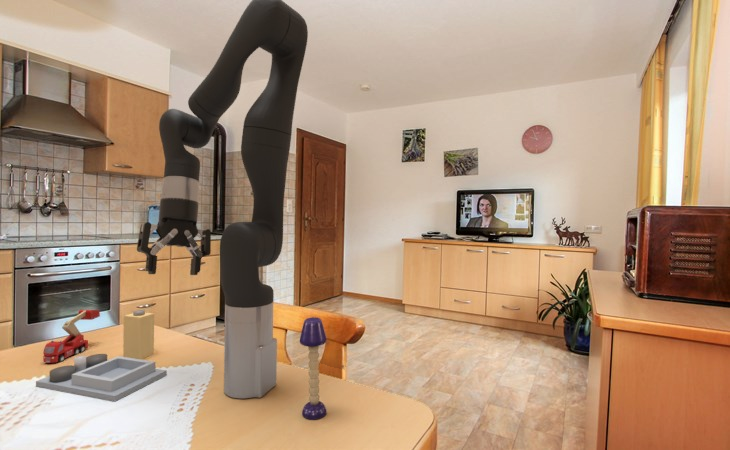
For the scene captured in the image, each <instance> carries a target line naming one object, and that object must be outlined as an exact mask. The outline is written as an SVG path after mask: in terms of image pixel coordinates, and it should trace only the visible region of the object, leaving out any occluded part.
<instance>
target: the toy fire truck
mask: <svg viewBox="0 0 730 450" xmlns="http://www.w3.org/2000/svg"><path fill="white" fill-rule="evenodd" d="M99 317H101V315H100V309H80V310H78V314H77V315H75V316H74V317H73V318H71V319H69V320H65V322H64V324H63V325H62V326H61V329H63V330H64V331H65V332H66V333H67V334H68V336H67V337H66V338H64V339H63V341H62V340H60V341H54V340H51V341H49V342H48V343H46V344H45V346H44V349H43V353H42V354H43V357H42V359H43V360H42V361H43V363H48V364H50V363H51V364H52V363H58V362H59V363H61V362H64V360H65V359H66V358H69V357H71V356H72V355H75V356H76V355H78V354H79V353H83V352H84V351H85V350H87V349H88V348H89V340H88V339H85V337H84V334H81V332H80V330H79V329H78V328H77V326H76V324H75V323H77V322H79V321H80V320H85V321H86V320H95V319H96V318H99Z"/></svg>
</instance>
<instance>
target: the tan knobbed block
mask: <svg viewBox="0 0 730 450" xmlns="http://www.w3.org/2000/svg"><path fill="white" fill-rule="evenodd" d="M122 338H123V344H122V347H123V350H122V352H123V353H122V355H123V356H122V357H127V358H134V359H141V360H144V359H145V358H147V357H150V356H152V355H154V354H155V313H154V312H153V313H152V312H146V310H144V309H139V310H137V309H136V310H134V311H133V312H132V313H128V314H125V315H123V337H122Z"/></svg>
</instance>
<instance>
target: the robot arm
mask: <svg viewBox="0 0 730 450" xmlns="http://www.w3.org/2000/svg"><path fill="white" fill-rule="evenodd" d="M308 35H309V32H308V25H307V23H306V19H305V18H304V17H303V16H302V14H300V12H298V11H297V10H295V9H293V8H292V7H291V6H290V5H289V4H287V3H286V2H284V0H251V1H250V2H249V3H248V5H247V7H246V8H245V9H244V11H243V13H242V14H241V16H240V17H239V20H238V22H237V23H236V26H235V27H234V29H233V30H232V32H231V34H230V36H229V37H228V40H227V41H226V43H225V45H224V47H223V49H222V51H221V53H220V55H219V57H218V58H217V60H216V62H215V64H214V65H213V67H212V68H211V70H210V71H209V73H208V74H207V75H206V77H205V78H204V79H203V80H202V81H201V83H200V84H199V85H198V86H197V88H195V90H194V91H193V93H191V95H190V96H189V97H188V100H187V103H188V105H187V106H188V109H189V110H190V111H191V112H192V113H193V115H192V114H190V113H188V112H185V111H182V110H180V109H177V108H169V109H167V110H166V111H164V112H163V114H161V116H160V118H159V123H158V132H159V137H160V142H161V143H162V144H161V145H162V150H163V157H164V169H163V170H164V171H163V180H162V184H161V190H160V191H161V192H160V194H159V195H160V196H159V197H160V198H159V201H160V202H159V212H158V223H157V224H153V223H151V222H149V221H148V222H144V223H141V224H140V227H139V232H138V233H139V234H138V240H137V245H136V251H137V252H138V253H141V254H143V255H145V256H146V259H145V260H146V261H145V272H147V274H148V275H156V273H157V264H158V256H157V254H158V253H159V251H161V250H162V249H163V248H164V247H165V246H166V247H172V246H173V247H178V248H183V247H185V250H187V251H188V252H189V253H190V255H191V257H192V258H191V259H190V272H189V275H190V276H197V275H198V273H200V271H201V266H202V265H201V263H202V258H203V257H207V256H210V255H211V252H212V251H211V250H212V249H211V245H212V244H211V243H212V241H211V239H212V237H211V235H212V234H211V229H209V228H207V229H206V228H205V229H198V227H197V224H198V216H199V215H198V213H199V201H200V185H199V184H200V170H201V161H200V159H199V157H197V156H196V155H194V154H193V153H191V152H189V151H188V150H187V149H186V147H188V148H192V149H201V148H204V147H205V146H207V145H208V144H209V143H210V140H211V138H212V136H213V133H214V130H215V129H216V127H217V125H218V122H219V120H220V119H221V117H223V115H224V114H225V113H226V112H227V111H228V110H229V108H230V107H231V106H232V105H233V104H234V102H235V101H236V100H237V98H238V96H239V95H240V91H241V85H242V77H243V70H244V67H245V64H246V62H247V60H248V59H249V57H250V56H251V55H253V53H255V51H257V50H258V49H259V48H260V49H262V50H263V51H265V52H267V53H268V54H271V66H270V72H269V78H268V80H267V83H266V86H265V88H264V90H263V91H262V92H261V93H260V95H259V96H258V97H257V99H256V100H255V101H254V102H253V104H252V105H251V106H250V108H249V109H248V111H247V113H246V115H245V116H244V117H245V118H244V120H243V126H242V127H243V128H242V136H241V145H240V155H241V160H242V164H243V167H244V170H245V172H246V175H247V177H248V181H249V184H250V187H251V190H252V196H253V197H252V198H253V208H252V216H251V221H236V222H232V223H230V224H229V225H227V226H226V227H225V229H223V231H222V235H221V237H220V241H219V263H220V265H219V266H220V267H219V268H220V285H221V289H222V292H223V295H224V345H223V346H224V347H223V351H224V353H223V355H224V356H223V392H224V394H225V395H226V396H228V397H230V398H234V399H251V398H262V397H263V396H265V394H267V393H268V392H269V391H270V390H272V389H273V388H274V387H275V386H276V385H277V377H278V376H277V373H278V372H277V371H278V370H277V368H278V367H277V365H278V361H277V359H278V339H277V338H276V337H274V288H273V287H272V286H271V285H268V284H265V283H263V282H261V279H260V276H259V275H260V274H259V273H260V272H259V268H261V267H267V266H270V265H272V264H274V263H275V262H276V261H277V260H278V259H279V258H280V257H279V256H281V252H282V248H283V242H284V207H285V205H284V204H285V203H284V202H285V191H286V180H287V170H288V162H289V156H290V150H291V140H292V133H293V132H292V131H293V121H294V114H295V113H294V112H295V107H296V99H297V95H298V94H297V93H298V87H299V83H300V76H301V72H302V67H303V63H304V59H305V55H306V50H307V45H308V38H309V37H308ZM185 146H186V147H185ZM154 231H155V233H156V234H157V235H158V238H157V239H156V240H155V241H154V242H153V244H152V245H151V246H150V247H149V241H150V236H151V235H152V234H153V233H154ZM196 236H198V238H199V240H200V248H199V244H198V243H197V242H196V240H195V238H196Z"/></svg>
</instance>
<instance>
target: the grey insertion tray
mask: <svg viewBox="0 0 730 450" xmlns="http://www.w3.org/2000/svg"><path fill="white" fill-rule="evenodd" d="M167 372H168V371H167V370H166V369H160V368H156V361H154V360H145V359H134V358H127V357H123V356H120V355H118V356H115V357H113V358H110V359H108V354H107V353H96V354H91V355H88V356H86V355H78V356H75V357H74V358H73V365H63V366H58V367H55V368H52V369H51V370H49V376H47V377H44V378H41V379H38V380H35V386H36V387H39V388H44V389H49V390H55V391H59V392H64V393H68V394H69V393H70V394H74V395H79V396H85V397H90V398H94V399H100V400H105V401H111V402H116V401H119V400H121V399H123V398H125V397H126V396H128V395H131V394H133V393H134V392H137V391H138V390H140V389H142V388H144V387H146V386H149V385H150V384H152V383H154V382H156V381H158V380H159V379H162V378H164V377H166V376H167V375H168V373H167Z"/></svg>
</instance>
